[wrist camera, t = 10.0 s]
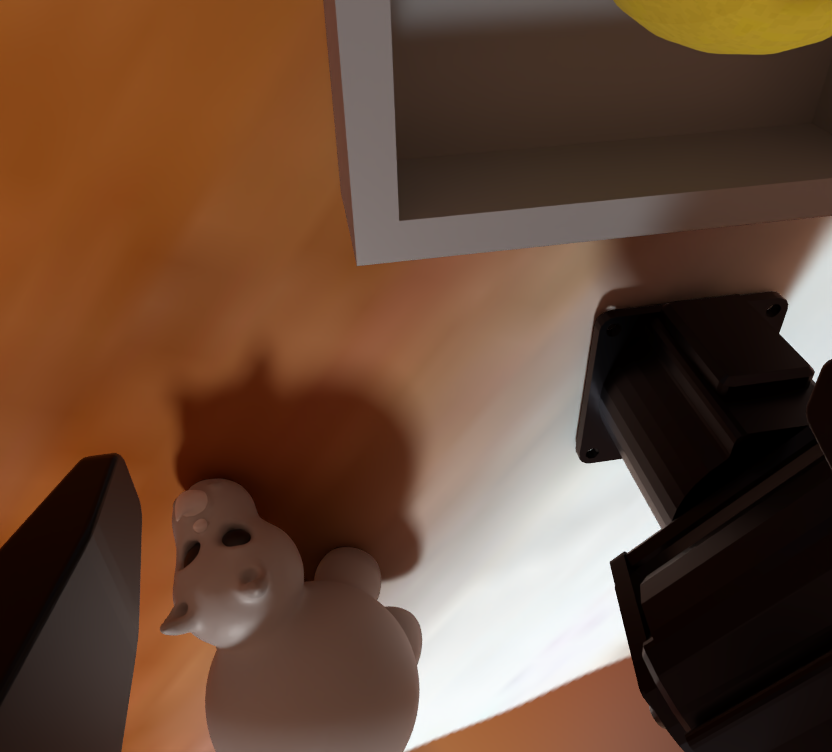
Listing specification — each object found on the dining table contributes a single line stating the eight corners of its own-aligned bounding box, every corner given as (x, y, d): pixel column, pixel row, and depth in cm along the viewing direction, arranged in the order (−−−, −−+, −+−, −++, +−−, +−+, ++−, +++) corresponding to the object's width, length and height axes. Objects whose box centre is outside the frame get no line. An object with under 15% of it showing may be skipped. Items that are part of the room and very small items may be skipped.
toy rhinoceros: (306, 393, 27) (267, 500, 19) (446, 637, 31) (462, 817, 22) (140, 473, 28) (34, 608, 20) (293, 702, 31) (256, 898, 23)
